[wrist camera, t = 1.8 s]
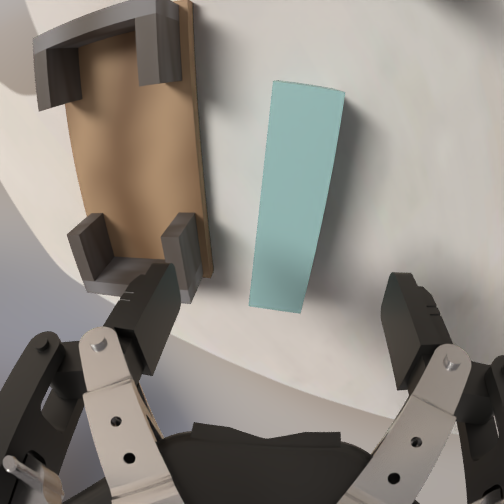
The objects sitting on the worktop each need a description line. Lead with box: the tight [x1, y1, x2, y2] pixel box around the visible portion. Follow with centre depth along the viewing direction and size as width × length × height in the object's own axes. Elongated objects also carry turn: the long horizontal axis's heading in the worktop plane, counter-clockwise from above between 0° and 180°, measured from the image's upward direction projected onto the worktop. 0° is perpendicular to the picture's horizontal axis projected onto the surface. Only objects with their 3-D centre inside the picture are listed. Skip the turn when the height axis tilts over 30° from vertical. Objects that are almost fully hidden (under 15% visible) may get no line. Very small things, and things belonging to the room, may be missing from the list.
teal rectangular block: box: [249, 80, 345, 313], centre depth 19 cm, size 4×14×4 cm, turn 175°
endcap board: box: [33, 0, 214, 304], centre depth 19 cm, size 10×20×4 cm, turn 2°
